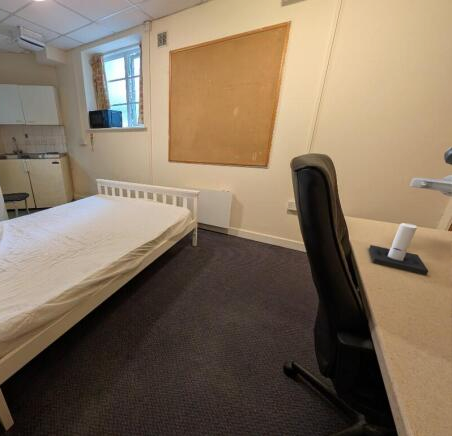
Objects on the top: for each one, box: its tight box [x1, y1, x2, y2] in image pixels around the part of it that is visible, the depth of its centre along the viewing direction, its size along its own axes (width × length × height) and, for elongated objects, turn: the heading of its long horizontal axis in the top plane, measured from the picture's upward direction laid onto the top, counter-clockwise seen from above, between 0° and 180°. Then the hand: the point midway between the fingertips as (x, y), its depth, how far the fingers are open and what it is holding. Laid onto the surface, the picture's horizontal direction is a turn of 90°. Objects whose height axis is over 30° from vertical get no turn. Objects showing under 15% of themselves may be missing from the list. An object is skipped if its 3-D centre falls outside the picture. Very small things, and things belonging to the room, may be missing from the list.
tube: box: [388, 222, 418, 261], centre depth 84 cm, size 4×4×15 cm
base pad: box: [368, 244, 429, 276], centre depth 86 cm, size 14×14×2 cm
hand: (440, 188), depth 81 cm, fingers open, 8 cm apart
